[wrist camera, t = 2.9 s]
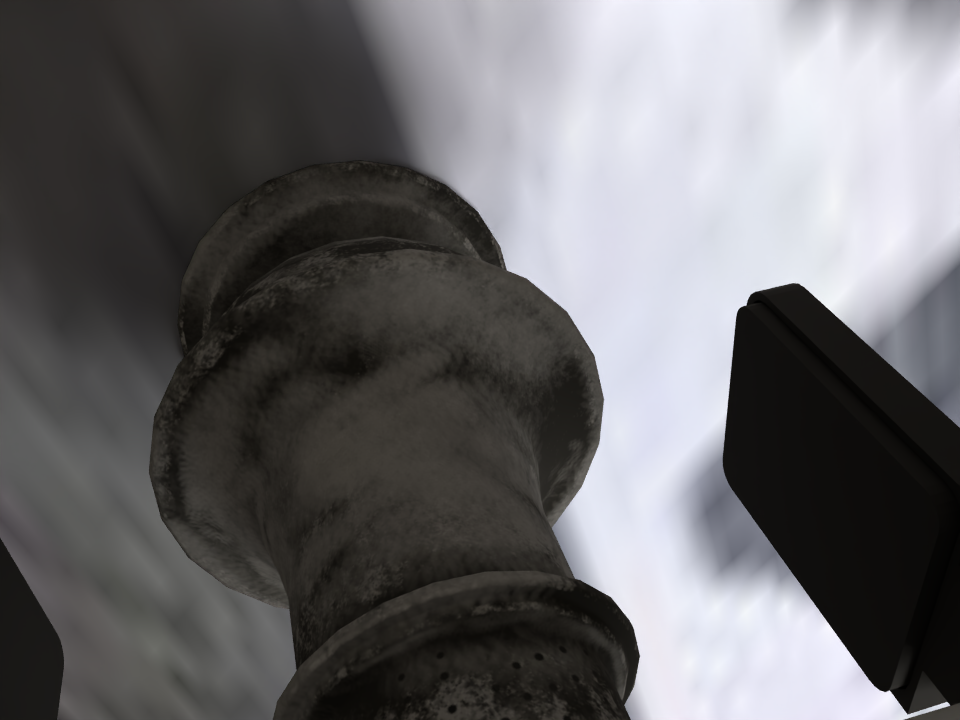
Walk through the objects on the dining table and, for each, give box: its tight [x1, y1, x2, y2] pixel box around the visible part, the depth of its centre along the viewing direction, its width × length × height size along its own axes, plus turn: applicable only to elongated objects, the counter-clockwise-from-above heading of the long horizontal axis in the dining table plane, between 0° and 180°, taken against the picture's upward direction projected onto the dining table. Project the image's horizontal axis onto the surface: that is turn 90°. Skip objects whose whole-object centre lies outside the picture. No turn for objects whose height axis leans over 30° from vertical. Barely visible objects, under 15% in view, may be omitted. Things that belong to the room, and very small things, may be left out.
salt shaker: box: [149, 161, 640, 720], centre depth 10 cm, size 6×6×12 cm
